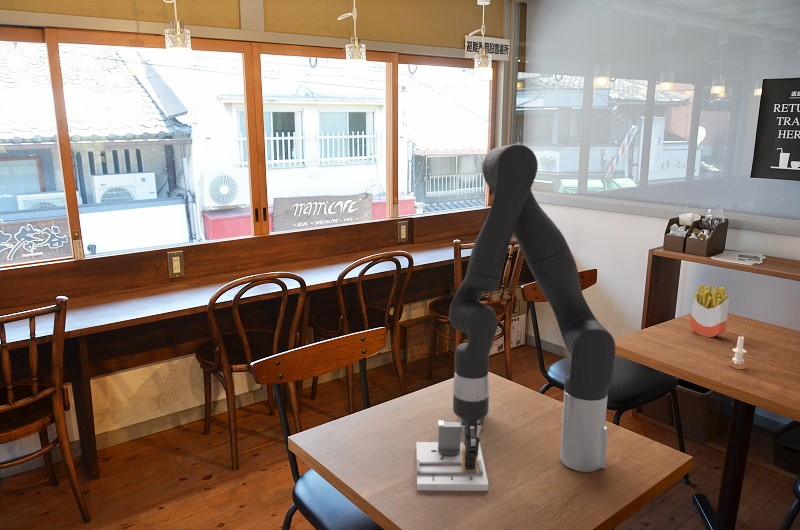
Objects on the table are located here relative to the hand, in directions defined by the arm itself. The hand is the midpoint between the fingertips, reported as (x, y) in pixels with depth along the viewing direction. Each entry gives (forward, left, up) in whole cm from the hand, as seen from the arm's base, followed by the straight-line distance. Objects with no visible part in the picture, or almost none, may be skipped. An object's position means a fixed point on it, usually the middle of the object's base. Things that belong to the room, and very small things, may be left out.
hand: (469, 464), depth 131 cm
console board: (+4, -3, -3) cm, 6 cm away
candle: (-90, -61, -3) cm, 109 cm away
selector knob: (+4, -7, -1) cm, 9 cm away
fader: (0, 0, -1) cm, 1 cm away
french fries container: (-94, -90, -3) cm, 130 cm away
